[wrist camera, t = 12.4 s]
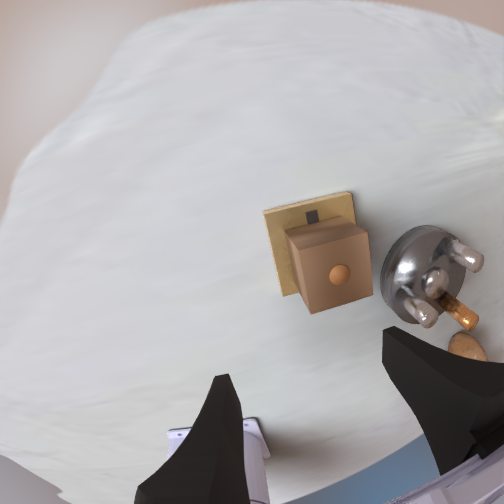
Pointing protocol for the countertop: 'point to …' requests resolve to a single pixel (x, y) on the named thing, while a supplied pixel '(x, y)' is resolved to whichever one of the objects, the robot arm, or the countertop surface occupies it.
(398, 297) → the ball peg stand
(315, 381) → the countertop surface
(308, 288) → the block
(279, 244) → the pad
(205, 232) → the countertop surface
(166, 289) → the countertop surface
